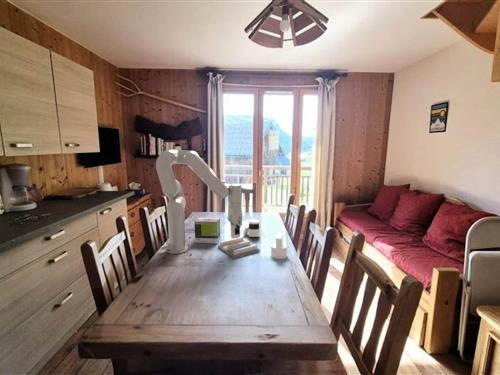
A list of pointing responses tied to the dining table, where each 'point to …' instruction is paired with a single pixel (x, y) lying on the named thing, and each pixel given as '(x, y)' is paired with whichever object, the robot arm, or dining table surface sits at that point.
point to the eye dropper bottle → (234, 232)
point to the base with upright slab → (279, 248)
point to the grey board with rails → (238, 247)
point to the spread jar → (253, 229)
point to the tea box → (207, 230)
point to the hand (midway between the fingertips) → (235, 233)
